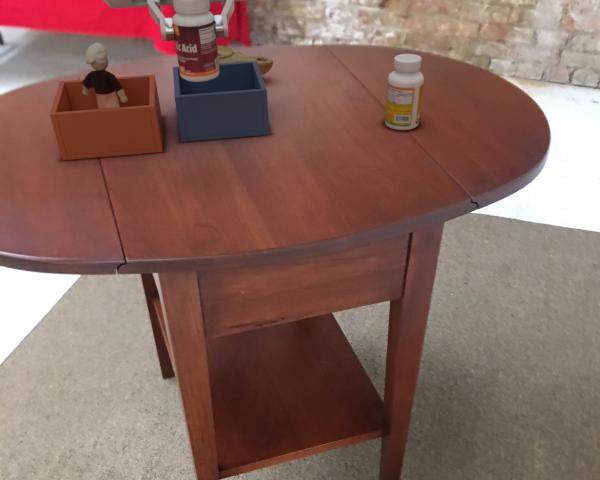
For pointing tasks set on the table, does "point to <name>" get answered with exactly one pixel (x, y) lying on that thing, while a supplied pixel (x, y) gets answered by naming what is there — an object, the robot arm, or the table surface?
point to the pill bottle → (195, 40)
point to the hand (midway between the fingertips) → (195, 36)
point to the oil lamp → (243, 58)
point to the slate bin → (222, 104)
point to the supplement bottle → (404, 93)
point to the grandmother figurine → (102, 79)
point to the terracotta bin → (107, 120)
